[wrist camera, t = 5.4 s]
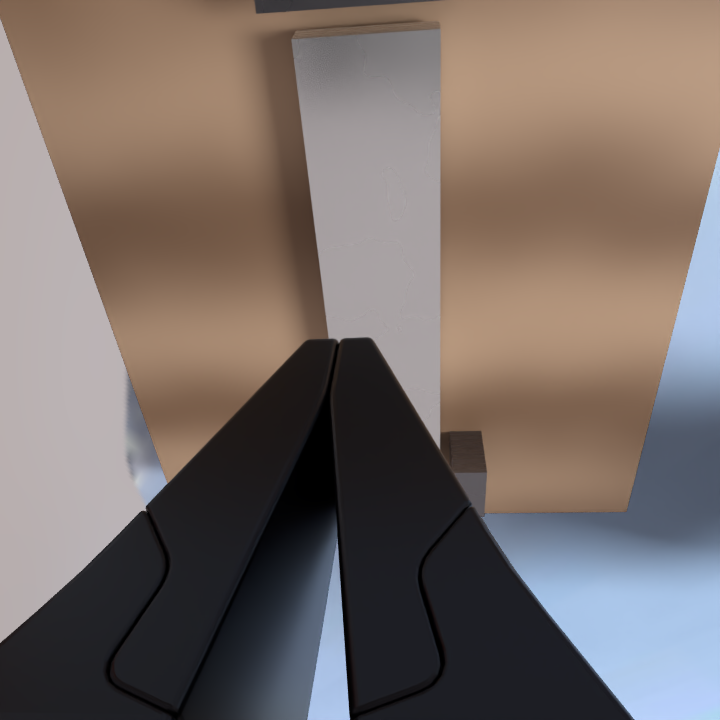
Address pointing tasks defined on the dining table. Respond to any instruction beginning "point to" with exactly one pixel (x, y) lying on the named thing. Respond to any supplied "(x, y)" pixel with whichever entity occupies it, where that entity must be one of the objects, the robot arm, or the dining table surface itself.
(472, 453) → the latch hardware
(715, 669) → the dining table surface
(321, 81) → the strap
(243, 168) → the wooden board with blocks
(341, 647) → the dining table surface
